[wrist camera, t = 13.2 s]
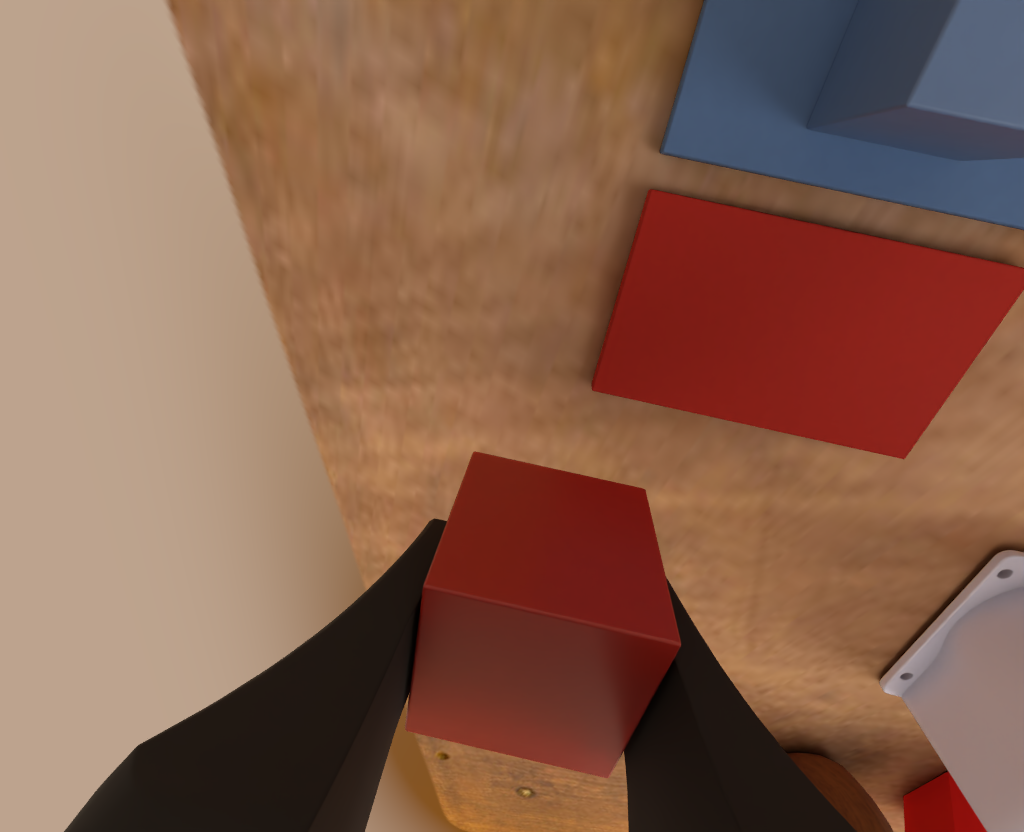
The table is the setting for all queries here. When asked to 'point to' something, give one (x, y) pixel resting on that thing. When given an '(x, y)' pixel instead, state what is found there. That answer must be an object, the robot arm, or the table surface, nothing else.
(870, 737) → the table surface
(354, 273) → the table surface
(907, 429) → the red mat
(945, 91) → the blue block
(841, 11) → the blue mat
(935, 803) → the red dodecahedron
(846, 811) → the wooden figurine
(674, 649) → the red block
